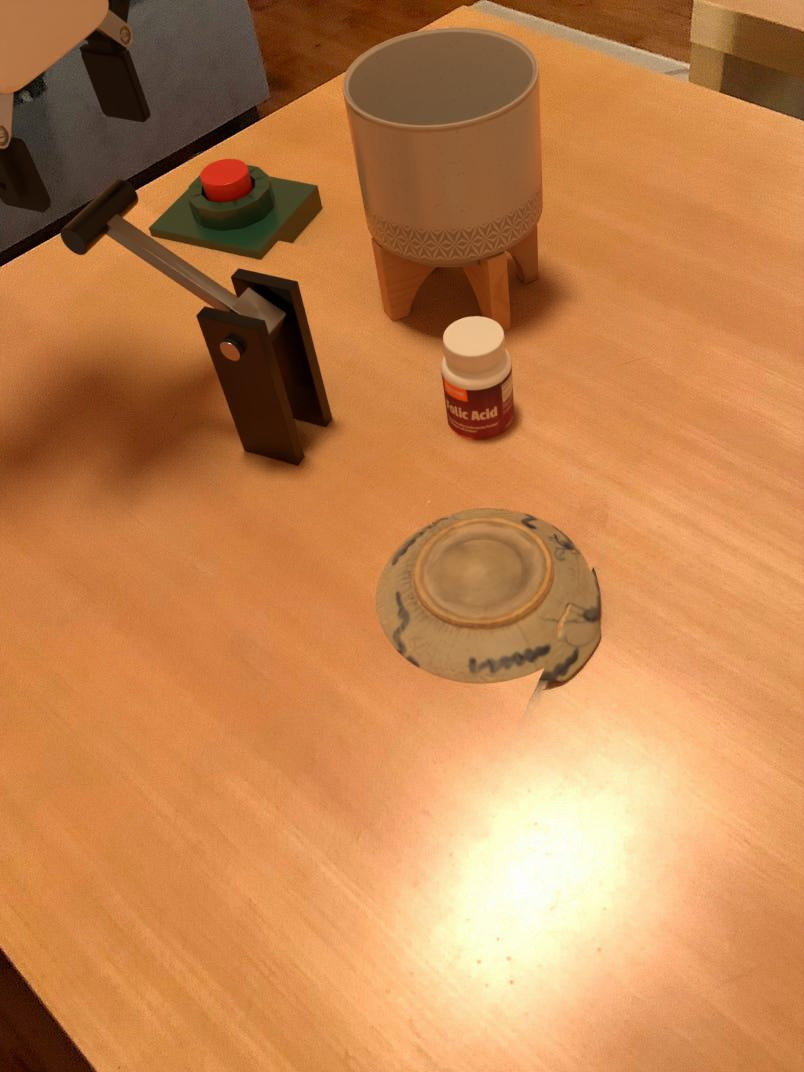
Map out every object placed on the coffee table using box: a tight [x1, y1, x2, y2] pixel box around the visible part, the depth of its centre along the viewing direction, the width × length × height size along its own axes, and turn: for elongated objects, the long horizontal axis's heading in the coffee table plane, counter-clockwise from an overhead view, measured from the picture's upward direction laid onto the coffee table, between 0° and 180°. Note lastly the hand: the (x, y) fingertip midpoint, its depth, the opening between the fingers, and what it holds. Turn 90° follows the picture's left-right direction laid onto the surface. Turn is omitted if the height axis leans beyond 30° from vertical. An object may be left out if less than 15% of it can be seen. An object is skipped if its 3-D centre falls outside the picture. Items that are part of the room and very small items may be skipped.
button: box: [199, 158, 253, 203], centre depth 87 cm, size 4×4×2 cm
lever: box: [59, 178, 286, 343], centre depth 65 cm, size 13×6×2 cm, turn 66°
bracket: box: [195, 267, 333, 467], centre depth 69 cm, size 12×9×13 cm
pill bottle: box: [440, 315, 516, 441], centre depth 71 cm, size 5×5×8 cm
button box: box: [148, 164, 323, 261], centre depth 89 cm, size 11×10×4 cm
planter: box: [342, 26, 544, 332], centre depth 76 cm, size 13×13×18 cm
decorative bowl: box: [375, 507, 602, 685], centre depth 64 cm, size 15×4×15 cm
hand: (80, 159), depth 61 cm, fingers open, 9 cm apart
